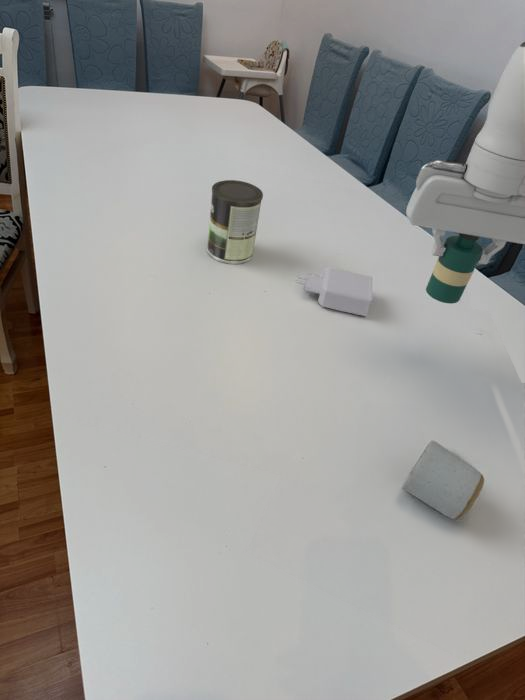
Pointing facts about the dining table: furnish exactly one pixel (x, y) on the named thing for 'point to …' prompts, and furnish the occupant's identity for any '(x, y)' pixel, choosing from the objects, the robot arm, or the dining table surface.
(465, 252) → the bottle
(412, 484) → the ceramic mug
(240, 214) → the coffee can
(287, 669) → the dining table surface
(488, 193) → the robot arm
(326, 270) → the charger
